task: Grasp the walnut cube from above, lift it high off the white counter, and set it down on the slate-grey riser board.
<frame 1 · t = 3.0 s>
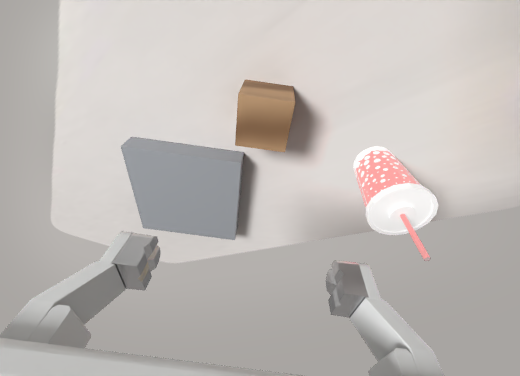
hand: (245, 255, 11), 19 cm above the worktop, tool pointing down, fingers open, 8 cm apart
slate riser: (191, 188, 34), on the worktop
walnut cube: (265, 106, 26), on the worktop
beverage cup: (372, 162, 30), on the worktop
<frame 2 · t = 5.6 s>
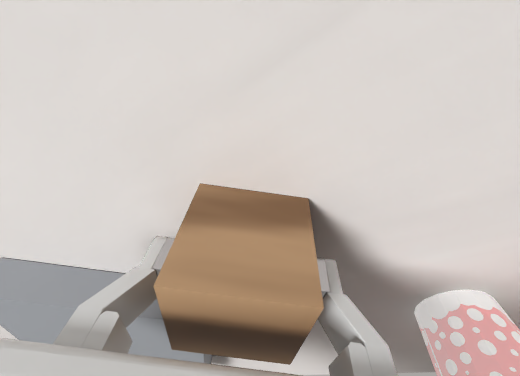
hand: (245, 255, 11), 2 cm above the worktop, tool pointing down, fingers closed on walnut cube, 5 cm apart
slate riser: (129, 318, 20), on the worktop
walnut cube: (249, 228, 12), on the worktop, touching gripper
beverage cup: (450, 305, 16), on the worktop
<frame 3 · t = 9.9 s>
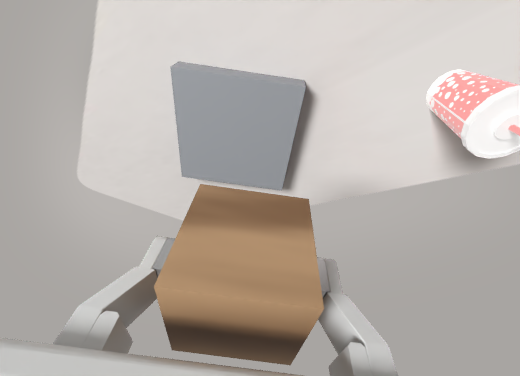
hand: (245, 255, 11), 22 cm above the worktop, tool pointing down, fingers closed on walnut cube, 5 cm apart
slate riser: (237, 129, 31), on the worktop
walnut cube: (249, 228, 12), point 20 cm above the worktop, touching gripper
beverage cup: (448, 91, 26), on the worktop
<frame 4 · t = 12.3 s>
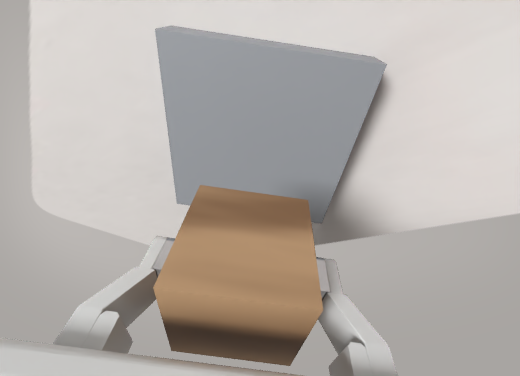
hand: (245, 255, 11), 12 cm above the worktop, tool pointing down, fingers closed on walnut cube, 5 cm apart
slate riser: (260, 135, 21), on the worktop
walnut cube: (249, 229, 12), point 11 cm above the worktop, touching gripper
when the fingers open (5 cm above the worktop, at t = 14.4 s): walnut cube drops 1 cm, resting on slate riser.
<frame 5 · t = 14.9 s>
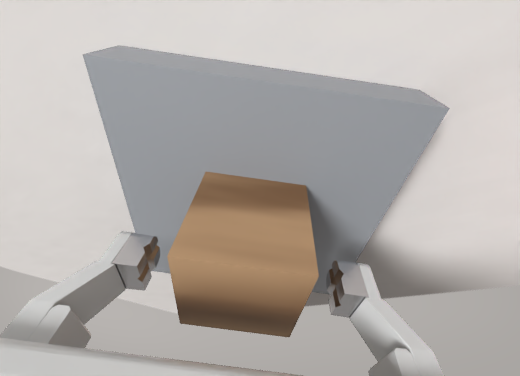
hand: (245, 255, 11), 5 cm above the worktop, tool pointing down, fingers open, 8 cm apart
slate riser: (254, 187, 15), on the worktop
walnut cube: (251, 214, 13), point 2 cm above the worktop, touching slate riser
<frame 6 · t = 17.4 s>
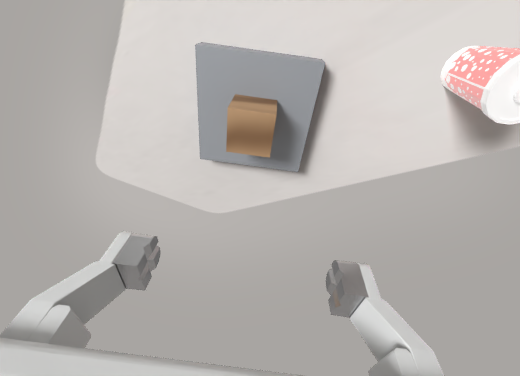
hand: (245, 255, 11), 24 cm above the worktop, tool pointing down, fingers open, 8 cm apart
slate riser: (255, 110, 32), on the worktop
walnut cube: (254, 117, 30), point 2 cm above the worktop, touching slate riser
beverage cup: (462, 68, 27), on the worktop
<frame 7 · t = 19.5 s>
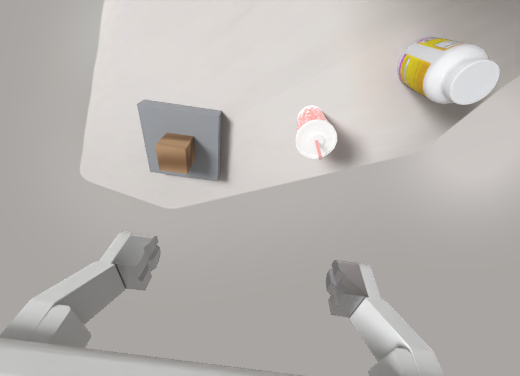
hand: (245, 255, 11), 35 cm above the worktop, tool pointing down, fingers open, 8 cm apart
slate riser: (185, 140, 47), on the worktop
supplement bottle: (419, 61, 36), on the worktop
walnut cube: (181, 146, 45), point 2 cm above the worktop, touching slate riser
beverage cup: (310, 117, 43), on the worktop
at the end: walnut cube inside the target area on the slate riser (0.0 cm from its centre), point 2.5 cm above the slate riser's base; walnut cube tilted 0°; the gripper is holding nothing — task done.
